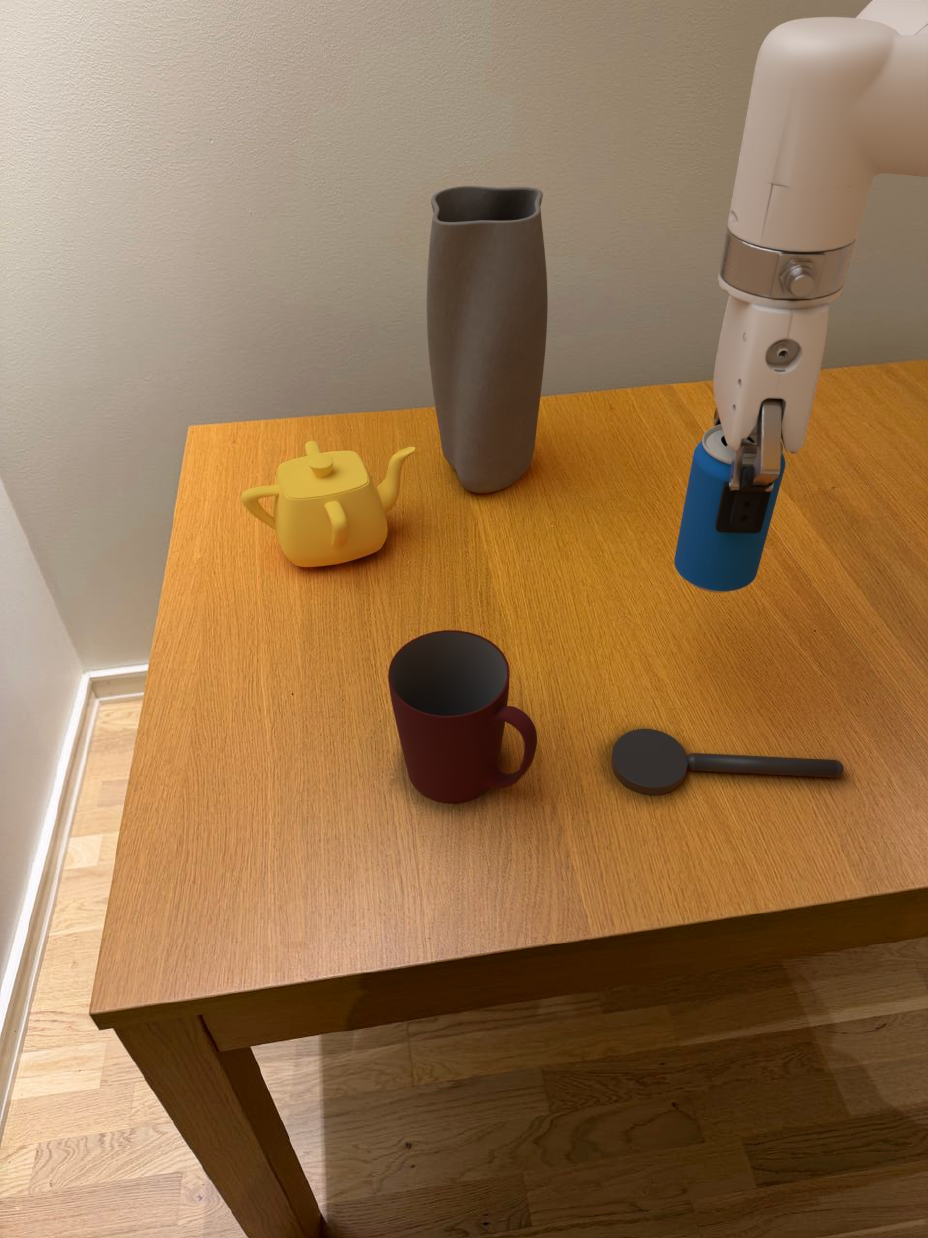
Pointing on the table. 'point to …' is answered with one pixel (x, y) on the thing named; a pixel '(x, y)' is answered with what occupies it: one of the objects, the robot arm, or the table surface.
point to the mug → (455, 714)
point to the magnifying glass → (696, 763)
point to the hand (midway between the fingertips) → (730, 499)
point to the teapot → (328, 506)
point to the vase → (487, 329)
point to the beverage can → (700, 545)
